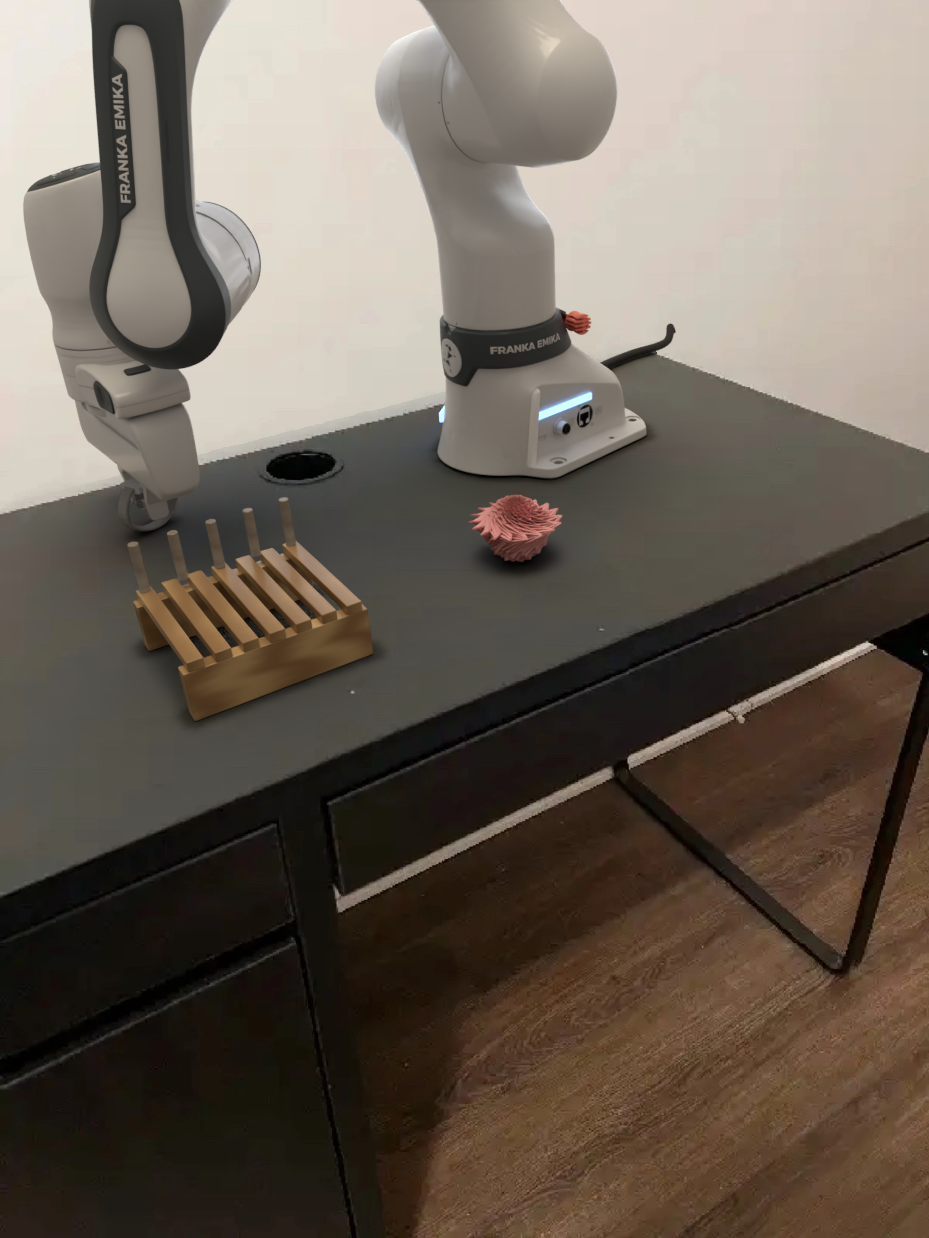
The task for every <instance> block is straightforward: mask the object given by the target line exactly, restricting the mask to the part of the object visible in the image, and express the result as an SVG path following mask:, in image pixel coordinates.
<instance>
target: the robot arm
mask: <svg viewBox="0 0 929 1238" xmlns="http://www.w3.org/2000/svg"><path fill="white" fill-rule="evenodd" d="M416 1H417V2H418V4H419V5H420V6H421V7H422V8H423V10H424V11H425V13H426V14H427V16H428V17H429V18H430V20H431V22H432V24H433V25H430V26H427V27H424V28H421V29H418V30H416V31H414V32H412V33H409V34H407V35H405V36H402V37H400V38H398V39H397V40H395V41H394V42H393V43H392V44H391V45H390V46H388V48H387V49H386V51H385V52H384V53H383V55H382V57H381V59H380V62H379V64H378V67H377V70H376V74H375V80H374V98H375V105H376V110H377V113H378V116H379V118H380V120H381V123H382V125H383V127H384V129H385V130H386V131H387V133H389V134H390V135H391V137H392V138H393V139H394V140H395V141H396V142H397V144H398V145H399V146H400V148H401V149H402V151H403V152H404V155H405V156H406V158H407V159H408V161H409V163H410V166H411V168H412V170H413V172H414V174H415V177H416V180H417V182H418V185H419V188H420V190H421V193H422V196H423V198H424V201H425V205H426V207H427V211H428V214H429V217H430V221H431V224H432V229H433V233H434V238H435V241H436V244H435V245H436V250H437V259H438V269H439V280H440V291H441V303H442V315H441V317H440V318H439V340H440V353H441V355H440V356H441V363H442V368H443V374H444V376H445V393H444V405H443V407H442V408H441V410H440V411H439V412H438V417H439V418H438V420H439V423H442V426H441V432H440V437H439V443H438V446H437V450H436V451H437V456H438V458H439V460H440V461H441V462H443V463H444V464H446V465H447V466H448V467H451V468H453V469H456V470H457V471H462V472H465V473H468V474H474V475H482V476H498V477H501V476H502V477H505V476H508V477H509V476H528V477H533V478H541V479H556V478H559V477H562V476H564V475H566V474H568V473H571V472H572V471H575V470H577V469H579V468H581V467H583V466H585V465H587V464H589V463H591V462H593V461H596V460H598V459H600V458H602V457H604V456H607V455H608V454H610V453H612V452H615V451H617V450H618V449H621V448H623V447H625V446H627V445H630V444H632V443H634V442H635V441H638V440H640V439H642V438H644V437H645V436H647V426H646V423H645V421H644V419H642V418H641V417H640V416H639V415H638V414H636V412H633V411H632V410H630V409H628V408H627V407H625V399H624V393H623V388H622V385H621V382H620V380H619V378H618V376H617V375H616V374H615V373H614V372H613V371H612V370H611V369H610V368H611V367H613V366H616V365H618V364H620V363H623V362H626V361H628V360H631V359H633V358H636V357H640V356H644V355H648V354H651V353H654V352H658V351H661V350H663V349H665V348H666V347H668V346H669V345H670V344H672V341H673V339H674V335H675V334H676V332H677V330H676V328H675V325H674V324H673V323H668V324H667V325H666V328H665V329H666V330H665V331H666V332H665V337H664V338H663V339H661V340H659V341H657V342H654V343H650V344H647V345H643V346H639V347H636V348H633V349H629V350H627V351H625V352H622V353H619V354H616V355H614V356H612V357H609V358H606V359H604V360H602V361H601V362H600V361H598V360H597V359H596V358H593V356H591V355H590V354H588V353H587V352H585V351H584V350H582V349H580V348H579V347H578V346H576V345H575V344H573V342H572V339H571V336H570V334H569V332H574V333H576V334H577V335H578V336H579V335H580V336H581V335H582V336H584V335H586V334H587V333H589V329H590V328H591V327H592V325H591V324H592V321H591V320H592V319H591V317H589V314H586V313H582V312H579V311H578V310H572V311H570V312H568V313H567V312H566V311H565V310H564V309H561V308H558V307H557V306H556V242H555V241H556V238H555V234H554V230H553V227H552V225H551V223H550V220H549V219H548V217H547V216H546V215H545V214H544V213H543V211H542V210H541V209H540V208H539V207H538V206H537V205H536V204H535V203H534V201H533V200H532V198H531V196H530V194H529V193H528V190H527V189H526V186H525V184H524V183H523V179H522V176H521V174H520V170H519V167H524V168H532V169H539V168H540V169H541V168H546V167H551V166H552V167H553V166H557V165H562V164H563V165H564V164H567V163H572V162H576V161H580V160H583V159H585V158H587V157H589V156H590V155H591V154H593V153H594V152H595V151H596V150H597V149H598V148H599V147H600V145H602V143H603V141H604V140H605V138H606V136H607V135H608V134H609V131H610V129H611V126H612V124H613V121H614V119H615V114H616V112H617V111H616V110H617V104H618V96H619V95H618V94H619V93H618V92H619V91H618V90H619V88H618V78H617V72H616V68H615V65H614V62H613V58H612V57H611V54H610V53H609V50H608V49H607V47H606V46H605V44H603V42H602V41H601V40H600V39H599V38H598V37H596V36H595V35H593V34H592V33H591V32H590V31H589V30H587V29H586V28H585V27H584V26H583V25H582V24H581V23H579V22H578V21H577V19H576V18H574V16H573V15H572V13H570V11H569V10H568V9H567V7H566V6H565V5H564V3H563V2H562V0H416ZM232 2H233V0H88V7H89V18H90V27H91V53H92V54H91V55H92V56H91V58H92V74H93V91H94V104H95V119H96V129H97V144H98V156H99V161H98V162H90V163H85V164H81V165H76V166H74V167H70V168H67V169H63V170H61V171H59V172H56V173H54V174H50V175H47V176H45V177H42V178H40V179H38V180H37V181H35V182H34V183H33V184H31V186H29V188H28V189H27V191H26V193H24V196H23V204H22V208H23V209H22V210H23V221H24V222H23V223H24V228H25V236H26V241H27V247H28V251H29V255H30V261H31V265H32V268H33V269H32V270H33V272H34V273H33V274H34V276H35V281H36V284H37V287H38V291H39V293H40V295H41V297H42V299H43V300H44V302H45V303H46V305H47V307H48V310H49V313H50V316H51V323H52V333H51V334H52V341H53V345H54V349H55V352H56V356H57V360H58V363H59V366H60V367H59V368H60V371H61V374H62V378H63V382H64V385H65V389H66V393H67V395H68V397H69V398H70V399H71V400H73V401H74V403H75V408H76V412H77V413H76V414H77V416H78V421H79V424H80V429H81V431H82V433H83V436H84V437H85V439H86V441H87V442H88V444H91V445H92V446H93V447H94V448H96V450H98V451H99V452H101V453H102V455H104V456H105V457H107V458H108V459H109V460H110V461H112V463H114V464H115V465H116V466H117V470H118V472H119V474H120V476H121V478H122V480H123V482H124V481H126V480H129V479H131V478H134V479H135V480H137V481H138V482H139V483H140V486H141V488H143V493H141V494H135V493H133V495H132V497H131V499H130V502H131V503H132V504H133V505H135V506H136V507H137V508H138V509H143V511H144V513H145V515H146V516H147V517H149V519H150V520H152V521H154V520H158V519H161V518H164V517H166V516H168V514H169V510H168V506H167V500H171V499H174V498H178V499H179V498H182V497H183V496H187V495H189V494H192V493H194V492H196V491H198V488H199V485H200V480H201V473H200V464H199V458H198V452H197V445H196V439H195V434H194V430H193V429H194V428H193V424H192V420H191V417H190V414H189V412H188V410H187V408H186V405H185V404H184V403H186V402H189V401H190V400H191V390H190V385H189V381H188V380H187V378H186V376H185V375H184V373H183V372H182V371H181V370H183V369H187V368H191V367H193V366H196V365H198V364H200V363H202V362H204V361H205V360H206V359H207V358H209V357H210V356H211V355H212V354H213V353H214V352H215V351H216V349H217V347H219V345H220V343H221V341H222V339H223V337H224V335H225V333H226V331H227V329H228V327H229V325H230V324H231V323H232V322H233V321H234V320H235V318H236V317H237V316H238V315H239V313H241V310H242V309H243V307H244V306H245V305H246V303H247V302H248V301H249V299H250V298H251V296H252V294H253V293H254V292H255V290H256V288H257V286H258V284H259V280H260V276H261V271H262V258H261V254H260V253H261V252H260V249H259V246H258V243H257V241H256V238H255V235H254V234H253V232H252V231H251V229H250V227H249V226H248V225H247V224H246V222H244V220H243V219H241V217H240V216H238V214H236V213H235V212H233V211H232V210H231V209H229V208H227V207H226V206H223V205H221V204H218V203H215V202H211V201H201V200H196V198H197V197H196V180H195V160H194V158H195V157H194V136H193V118H192V117H193V116H192V111H193V110H192V108H193V107H192V106H193V92H194V84H195V80H196V75H197V71H198V68H199V65H200V62H201V59H202V56H203V54H204V52H205V50H206V47H207V45H208V43H209V41H210V39H211V37H212V35H213V33H214V31H215V30H216V28H217V27H218V25H219V24H220V22H221V21H222V19H223V18H224V16H225V14H226V13H227V11H228V10H229V8H230V6H231V4H232Z"/></svg>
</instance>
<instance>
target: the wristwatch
mask: <svg viewBox="0 0 929 1238" xmlns="http://www.w3.org/2000/svg"><path fill="white" fill-rule="evenodd" d="M119 486H120V489H122V490H121V493H120V495H119V498H118V502H117V503H118V504H117V515H118V519H119V522H120V523H121V524H122V525H123V526H125V527H126V528H129V529H132V530H135V531H138V532H151V531H155V530H157V529H160V528H161V527H163V526H164V525H165V524H166V523H168V522H169V520H170V519H171V518H172V516H173V514H174V513H175V511H176V508H177V507H178V500H179V497H178V498H174V499H171V500H167V506H168V510H169V514H168V516H166V517H164V518H161V519H158V520H152V521H151V522H149V523H147V524H144V525H135V524H134V523H133V522H132V520H131V518H130V513H129V512H130V511H129V509H130V503H131V497H132V495H133V493H135V494H141V493H143V488H141V486H140V483H139V482H138V481H137V480H135V479H134V478H131V479H129V480H126V481H124V480H123V482H120V483H119Z"/></svg>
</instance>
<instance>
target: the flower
mask: <svg viewBox="0 0 929 1238" xmlns="http://www.w3.org/2000/svg"><path fill="white" fill-rule="evenodd" d="M489 505H491V506H489V507H480V506H479V507H477V509H478V510H479V511H481V512H479V513H472V514H471V513H470V516H471V517H474V518H475V519H473V520H469V521H468V522H467V523H468V524H473V525H474V527H472V528H471V530H472V531H475V532H479V533H480V535H479V536H480V537H483V539H484V540H485V542H486V544H487V545H490V550H491V551H493V555H494V556H495V555H496V556H500V557H501V559H503V561H505V562H507V561H510V562H513V563H514V562H519V563H520V562H521V563H524V561H525V560H532V557H536V556H537V555H539V554H541V552H542V549H543V547H546V546H547V543H548V540H549V536H550V535H551V534H552V533H553V532H555V531H556V528H557V527H559V526H561V525H562V524H563V522H562V521H560V520H561V519H562V518H563V517H564V516H563V514H557V513H558V510H559V507H555V508H550V509H549V507H550V503H549V502H545V503H544V504H541V505H539V504H538V501H537V499H536V498H535V499H533V500H532V498H530V497H527V496H524V495H522V494H510V495H505V496H504V497H500V498H499V499H497V500H496V502H495V503H494V502H492V501H490V502H489Z"/></svg>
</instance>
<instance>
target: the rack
mask: <svg viewBox="0 0 929 1238" xmlns="http://www.w3.org/2000/svg"><path fill="white" fill-rule="evenodd" d="M278 507H279V512H280V513H279V514H280V518H281V523H282V529H283V536H284V540H285V543H282V545H281V546H282V552H283V553H280V554H279V552H278V551H277V550H276V549H275V548H274V547H270V548H266V549H264V550H261V545H260V540H259V534H258V529H257V524H256V519H255V514H254V509H253V508H251V507H247V508H243V509H242V511H241V512H242V516H243V522H244V526H245V527H244V528H245V532H246V537H247V543H248V546H249V552H250V554H248V555H244V556H241V557H237V558H235V564H236V568H231V567H230V565H228V564H227V563H226V562H225V557H224V552H223V548H222V542H221V538H220V533H219V529H218V525H217V520H216V519H214V518H209V519H207V520H205V528H206V532H207V537H208V541H209V546H210V550H211V555H212V556H211V557H212V560H213V566H211V567H210V568H211V573H212V575H211V576H207V575H206V574H205V573H204V571H202V569H199V570H197V571H193V572H191V573H188V569H187V566H186V561H185V557H184V552H183V547H182V544H181V539H180V535H179V532H178V530H175V529H171V530H169V531H167V532H166V536H167V540H168V544H169V548H170V553H171V556H172V561H173V564H174V569H175V574H176V577H174V578H171V579H169V580H165V581H162V582H161V587H162V591H161V592H159V593H156V591H155V589H153V587H152V586H151V585H150V582H149V579H148V576H147V571H146V567H145V563H144V560H143V556H142V552H141V549H140V545H139V542H138V541H130V542H128V543H127V545H126V547H127V550H128V554H129V558H130V561H131V565H132V569H133V573H134V577H135V579H136V584H137V588H138V589H137V590H135V594H136V598H137V599H136V600H133V602H132V603H133V607H134V611H135V615H136V618H137V622H138V625H139V630H140V633H141V636H142V640H143V643H144V646H145V647H146V649H147V650H148V651H149V652H151V651H154V650H157V649H160V648H163V647H166V646H170V648H171V649H172V651H173V653H175V654H176V656H177V658H178V659H179V660H180V662H181V664H182V665H180V666H178V667H177V670H178V674H179V678H180V682H181V686H182V689H183V690H182V691H183V693H184V697H185V702H186V705H187V708H188V709H187V710H188V713H189V715H190V716H191V718H192V719H193V721H194V722H197V721H200V720H202V719H205V718H208V717H211V716H213V715H216V714H218V713H221V712H224V711H227V710H229V709H231V708H235V707H237V706H240V705H242V704H245V703H247V702H250V701H253V700H255V699H258V698H261V697H263V696H266V695H268V694H271V693H274V692H276V691H279V690H282V689H284V688H287V687H289V686H293V685H294V684H297V683H300V682H303V681H306V680H308V679H311V678H314V677H316V676H319V675H322V674H324V673H326V672H329V671H331V670H334V669H337V668H340V667H342V666H345V665H347V664H350V663H353V662H356V661H358V660H360V659H363V658H366V657H369V656H371V655H373V654H374V648H373V640H372V633H371V626H370V625H371V624H370V618H369V611H368V610H369V609H368V608H367V607H366V606H365V605H364V604H363V603H362V600H361V599H360V598H358V597H357V596H356V595H355V594H354V593H353V592H352V591H351V590H350V589H349V588H348V587H347V586H346V585H344V583H342V581H340V580H339V579H338V578H337V576H335V575H334V574H332V572H331V571H329V570H328V569H327V568H326V567H325V566H324V565H323V564H322V563H321V562H320V561H319V560H317V559H316V557H314V556H313V555H312V554H311V553H310V551H308V550H307V549H306V548H305V547H303V546H302V545H301V544H300V543H299V542H298V541H297V539H296V535H295V529H294V523H293V518H292V512H291V511H292V510H291V505H290V499H289V497H287V496H286V497H285V496H283V497H279V499H278ZM254 558H259V560H258V561H256V560H255V559H254ZM186 580H187V583H186V584H183V585H182V583H181V582H182V581H183V582H184V581H186ZM313 583H314V584H315V585H316V586H318V588H319V589H320V590H322V591H323V593H325V595H327V596H328V597H329V598H330V599H331V600H332V601H333V602H334V603H335V604H336V605H337V606H338V607H339V608H340V609H338V610H337V609H336V608H335V607H334V606H333V605H332V604H331V603H330V602H329V601H328V600H327V599H326V598H325V597H323V596H322V594H320V592H318V591H317V589H315V588H314V585H313ZM298 601H300V602H301V603H302V604H303V606H305V607H306V608H307V609H308V610H309V612H310V613H312V615H314V616H315V618H313V619H311V617H310V616H308V614H307V613H306V612H305V611H304V610H303V609H302V608H301V607H300V606H299V605H298V604H297V602H298ZM273 609H274V610H275V611H276V612H277V613H278V614H279V615H280V616H281V618H283V619H284V620H285V622H286V623H287V624H288V625H289V626H290V627H287V628H285V627H284V626H283V624H282V623H281V622H280V621H279V620H278V619H277V618H276V617H275V616H274V614H272V613H271V610H273ZM247 618H249V619H250V620H251V621H252V623H254V624H255V626H256V627H257V628H258V629H259V630H260V632H261V633H262V634H263V635H264V636H262V637H258V636H257V634H256V633H255V632H254V631H253V630H252V629H251V627H250V626H249V625H248V624H247V623H246V621H245V619H247ZM221 627H223V628H224V629H225V631H227V633H228V634H229V635H230V637H231V638H232V639H233V641H234V642H235V643H236V644H237V645H235V646H233V647H231V646H230V644H229V643H228V642H227V641H226V639H225V638H224V637H223V636H222V633H220V631H218V628H221ZM193 637H197V638H198V639H199V640H200V643H202V645H203V646H204V647H205V648H206V650H207V651H208V652H209V654H210V655H208V656H205V657H204V656H203V655H202V654H201V653H200V651H199V650H198V648H197V647H196V645H195V644H194V643H193V642H192V640H191V639H190V638H193Z"/></svg>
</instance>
